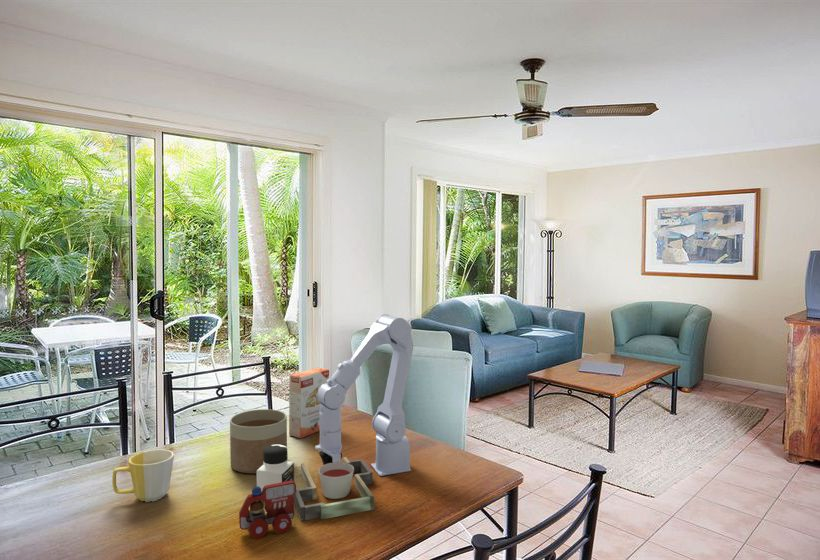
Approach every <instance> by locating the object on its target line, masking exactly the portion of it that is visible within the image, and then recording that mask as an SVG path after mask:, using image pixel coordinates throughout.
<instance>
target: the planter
mask: <svg viewBox="0 0 820 560" xmlns="http://www.w3.org/2000/svg"><path fill="white" fill-rule="evenodd" d="M276 444H278V445H283V446H286V447H287V448H288V419H287V413H286V412H284V411H281V410H278V409H271V408H270V409H266V408H264V409H253V410H252V409H251V410H247V411H243V412H240V413H239V412H238V413H236V414H235V415H233V416H232V417H231V418H230V419H229V445H230V448H229V449H230V450H229V451H230V467H231V469H233V470H234V471H236V472H239V473H243V474H257V470H258V469H259V468H260V467H261V466H262V465H264V464H263V450H264V449H265V448H266V447H268V446H271V445H276Z"/></svg>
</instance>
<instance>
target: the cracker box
mask: <svg viewBox="0 0 820 560" xmlns="http://www.w3.org/2000/svg"><path fill="white" fill-rule="evenodd" d="M328 379H330V369H329V368H328V369H327V368H322V367H315V368H311V369H307V370H303V371H299V372H296V373H292V374H289V382H288V383H289V388H288V392H289V395H288V396H289V399H288V403H289V404H288V406H289V407H288V409H289V411H288V413H289V414H288V418H289V419H288V421H289V422H288V435H289V436H290V437H294V438H296V439H303V438H305V437H308V436H311V435H313V434H316V433H317V432H320V402H319V401H318V400H317V398H316V394H317V393H318V390H319V388H320V387H321V386H322V385H323V384H325V383H327V382H326V381H327V380H328Z"/></svg>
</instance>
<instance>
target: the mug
mask: <svg viewBox="0 0 820 560" xmlns="http://www.w3.org/2000/svg"><path fill="white" fill-rule="evenodd" d="M174 455H175V453H174V452H173V451H172V450H169V449H163V448H161V449H160V448H159V449H158V448H157V449H150V450H145V451H141V452H139V453H136V454H134V455H132V456H131V457H129V459H128V466H121V467H120V466H119V467H116V468H114V469H113V472H112V476H111V477H112V479H111V480H112V488H113V491H114V493H115V494H116V495H117V494H118V495H125V494H134V495H135V497H136V499H138V500H139V501H140V502H143V501H145V502H144V503H151V502H150V501H152V502H155V501H159V500H161V499H162V497H163V498H164V497H165V495H167V493H168V492H169V490H170V485H171V478H172V472H173V465H174V464H173V463H174V458H175V457H174ZM123 471H124V472H128V473H130V476H131V482H132V486H133V488H132V487H131V488H128V489H119V488H118V486H117V473H118V472H123ZM158 499H159V500H158Z"/></svg>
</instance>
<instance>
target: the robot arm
mask: <svg viewBox="0 0 820 560" xmlns="http://www.w3.org/2000/svg"><path fill="white" fill-rule="evenodd" d="M408 322H409V321H407V320H406V319H405V318H403V317H397V316H393V315H389V314H386V313H385V314H381V315H380V316H378V317H377V318H376V319H375V321H374V322H373V323H372V324H371V326H370V328H369V331H368V333H367V335H366V336H365V337H364V339H363V340H362V342H361V343H360V345H359V346H358V348H357V349H356V350H355V352H354V353H353V355H352V356H351V357H350V359H347V360H343V361H342V363H341V362H340V363H339V364H337V369H336V371H335V372H334V373H333V374H332V375H331V377H329V379H328V380H327V381H326V382H327V383H325V384H323V385H322V386H321V387H320V388H319V390H318V393H317V394H316V398H317V400H318V401H319V402H320V431H319V444H318V445H315V446H314V448H315V450H316V451H318V455H319V456H320V458H321V462H322V466H323V465H325V464H328V463H335V462H341V461H342V459H343V453H342V452H341V451H342V447H343V443H342V405H343V404H345V401H346V395H347V392H348V391H349V389H350V388H351V387H352V386H353V384H354V383H355V382H356V380H357V379H358V377H359V376H360V375H361V367H362V365H364V363H366V361H367V359H369V358H370V356H371V355H372V354H373V352H374V351H375V350H376V349H377V348H378V347H379V346H381V345H386V344H387V345H388V344H389V345H390V346H391V347H392V350H393V352H392V356H391V361H390V366H389V371H388V376H387V382H386V386H385V390H384V397H383V400H382V401H383V402H382V403H381V404H380V405H378V407H377V411H376V413H375V414H374V415H373V418H372V420H371V426H372V429H373V431H375V462H373V463H371V464H370V466H371V467H372V469H373V470H374V471H375V472H376V473H377V474H378V476H379V477H382V476H383V477H384V476H388V475H394V474H400V473H406V472H407V473H408V472H411V471H412V469H411V446H410V441H409V439H408V437H407V436H406V435H405V434H406V430H407V429H406V428H407V427H406V423H405V422H406V421H405V420H406V415H405V412H404V410H403V402H404V396H405V392H406V391H405V390H406V386H407V381H408V377H409V376H408V375H409V370H410V366H411V361H412V356H413V351H414V343H413V338H412V334H411V333H412V327H411V324H410V323H408Z"/></svg>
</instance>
